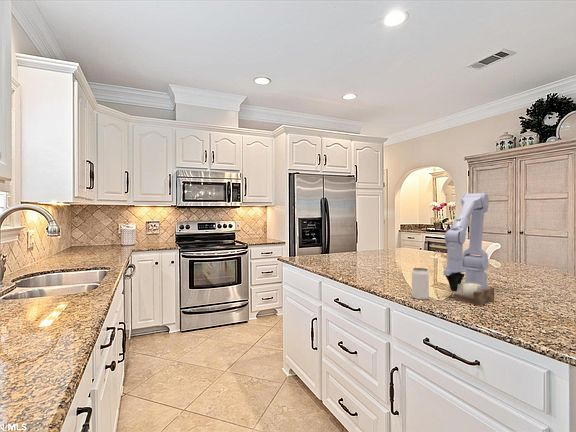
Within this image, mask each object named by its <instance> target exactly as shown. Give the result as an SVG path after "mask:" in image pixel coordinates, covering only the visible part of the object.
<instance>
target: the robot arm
mask: <svg viewBox="0 0 576 432" xmlns="http://www.w3.org/2000/svg"><path fill="white" fill-rule="evenodd" d="M460 200H461V201H460V203H461V206H462V207H461V210H460V213H459V215H458V216H456V217H455V219H454V221H453V223H452V225H451V227H450V229H448V230H447V231H445V234H444V240H445V247H446V249H447V250H446V251H447V253H446V254H447V256H446V257H447V258H446V259H447V263H446V265H447V266H446V267H447V268H446V269H445V270H444V269H443V272H442V273H443V276H445V277H446V280H447V281H448V285H449V288H450V292H452V291H455V292H456V291H457V286H458V284H462V281H463V279H464V278H465V282H473V283H478V284H479V285H482V288H481V289H479V290H482V289H485V288H488V284H487V282H488V274H487V272H486V271H487V269H488V268H489V255H488V253H487V252H486V251H485V250H484V249H482V245H483V242H482V241H483V234H484V233H483V230H484V229H483V228H484V218H485V213H487V212H489V211H488V210H489V203H490V199H489V195H488V194H487V193H486V192H478V193H477V192H476V193H463V194H462V195H461V198H460ZM470 216H471V218H470ZM469 219H470V220H471V222H470V221H469ZM469 225H470V232H469V245H468V247H469V248H467V249H465V250H464V249H463V247H464V246H463V244H465V242H466V236H467V233H466V232H467V229H468V227H469Z"/></svg>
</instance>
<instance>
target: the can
mask: <svg viewBox="0 0 576 432" xmlns="http://www.w3.org/2000/svg"><path fill="white" fill-rule="evenodd" d="M429 275H430V274H429V271H428V269H427V268H423V267H414V268H412V271H411V297H412V298H413V299H415V300H420V301H426V300H428V299H429V297H430V295H429V294H430V293H429V289H430V288H429V287H430V285H429V284H430V281H429V280H430V277H429Z"/></svg>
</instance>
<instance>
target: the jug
mask: <svg viewBox="0 0 576 432" xmlns="http://www.w3.org/2000/svg"><path fill="white" fill-rule="evenodd" d="M481 288H482V285H479V284H478V283H473V282H466V281H465V282H461V284H458V286H457V291H456V292H455V291H451V293H452V294H455V295H456V294H457V295H462V296H467V297H472V298H474V292H475V291H479V289H481Z"/></svg>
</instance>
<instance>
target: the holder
mask: <svg viewBox="0 0 576 432" xmlns="http://www.w3.org/2000/svg"><path fill="white" fill-rule="evenodd" d="M454 301H458V302H462V303H463V302H464V303H468V304H472V305H473V306H476V307H478V306H481V305H485V304H487V303H490V302H493V301H495V287H492V286H489V287H487V288H485V289H482V290H479V291H475V292H474V298H472V297H467V296H463V295H461V294H456V293H455V294H454Z"/></svg>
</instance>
